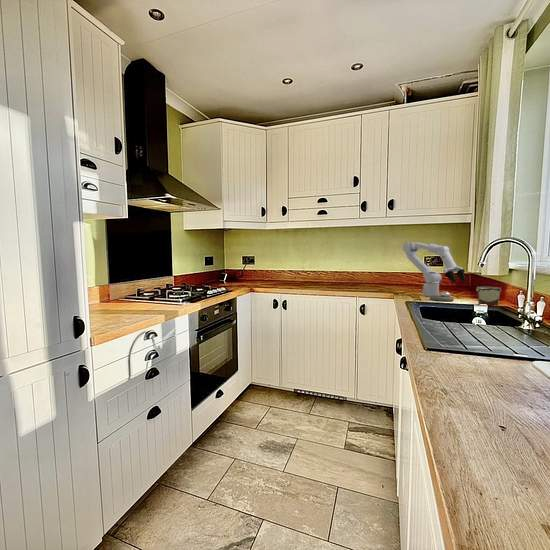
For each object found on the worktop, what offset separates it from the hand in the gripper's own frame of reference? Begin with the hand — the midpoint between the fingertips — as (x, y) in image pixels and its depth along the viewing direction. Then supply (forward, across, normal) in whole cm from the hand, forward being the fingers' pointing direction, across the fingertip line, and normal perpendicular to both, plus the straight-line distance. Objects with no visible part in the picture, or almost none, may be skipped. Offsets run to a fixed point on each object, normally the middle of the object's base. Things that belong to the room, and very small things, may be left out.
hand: (459, 281), depth 187 cm
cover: (+6, -8, +7) cm, 12 cm away
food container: (+19, -4, -11) cm, 23 cm away
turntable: (+7, -11, +8) cm, 16 cm away
